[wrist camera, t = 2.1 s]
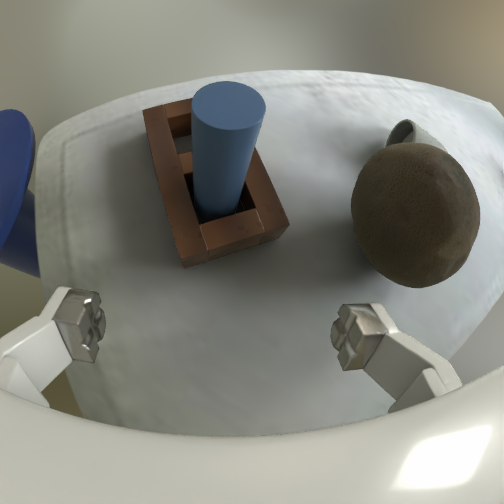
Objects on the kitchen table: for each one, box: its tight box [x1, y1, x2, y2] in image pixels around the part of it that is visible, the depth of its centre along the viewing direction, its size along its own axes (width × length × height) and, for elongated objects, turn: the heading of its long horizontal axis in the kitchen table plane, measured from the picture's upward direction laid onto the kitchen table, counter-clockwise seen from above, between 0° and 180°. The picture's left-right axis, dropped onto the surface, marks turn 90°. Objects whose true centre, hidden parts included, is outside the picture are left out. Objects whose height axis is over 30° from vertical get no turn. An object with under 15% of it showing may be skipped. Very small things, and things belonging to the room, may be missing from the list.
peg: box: [191, 81, 266, 222], centre depth 22 cm, size 4×4×15 cm
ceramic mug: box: [385, 119, 447, 152], centre depth 33 cm, size 11×8×8 cm
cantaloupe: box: [351, 142, 480, 288], centre depth 24 cm, size 14×14×15 cm
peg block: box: [142, 98, 290, 269], centre depth 28 cm, size 10×18×4 cm, turn 21°
